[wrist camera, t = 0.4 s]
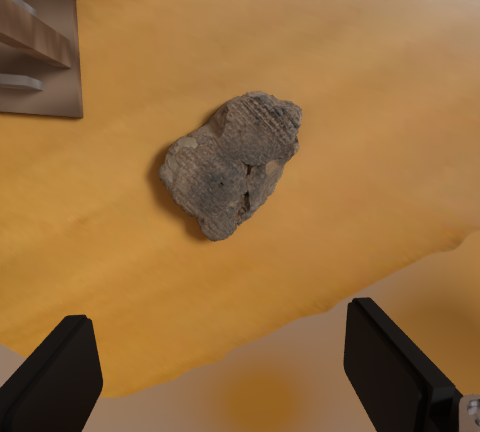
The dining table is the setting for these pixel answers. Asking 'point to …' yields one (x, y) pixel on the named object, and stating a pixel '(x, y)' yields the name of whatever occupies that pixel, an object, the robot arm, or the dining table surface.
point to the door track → (40, 58)
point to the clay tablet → (232, 161)
